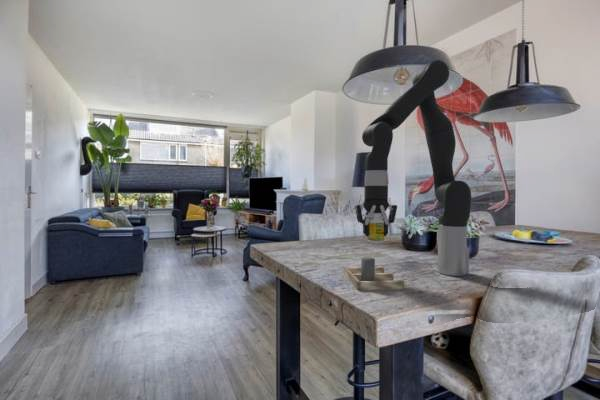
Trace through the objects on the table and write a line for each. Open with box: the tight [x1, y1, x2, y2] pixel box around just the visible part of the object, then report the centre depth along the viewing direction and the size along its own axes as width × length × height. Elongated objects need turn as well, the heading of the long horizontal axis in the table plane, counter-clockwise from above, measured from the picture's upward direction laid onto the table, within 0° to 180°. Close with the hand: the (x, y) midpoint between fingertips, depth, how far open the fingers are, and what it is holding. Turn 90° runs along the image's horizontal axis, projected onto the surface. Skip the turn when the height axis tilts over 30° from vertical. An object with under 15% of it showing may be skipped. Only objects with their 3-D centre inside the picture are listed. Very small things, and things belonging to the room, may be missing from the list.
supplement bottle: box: [366, 213, 385, 244], centre depth 99 cm, size 5×5×10 cm
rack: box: [343, 266, 405, 291], centre depth 95 cm, size 14×17×3 cm
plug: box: [360, 256, 376, 281], centre depth 91 cm, size 4×4×8 cm
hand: (375, 235), depth 99 cm, fingers closed on supplement bottle, 5 cm apart
